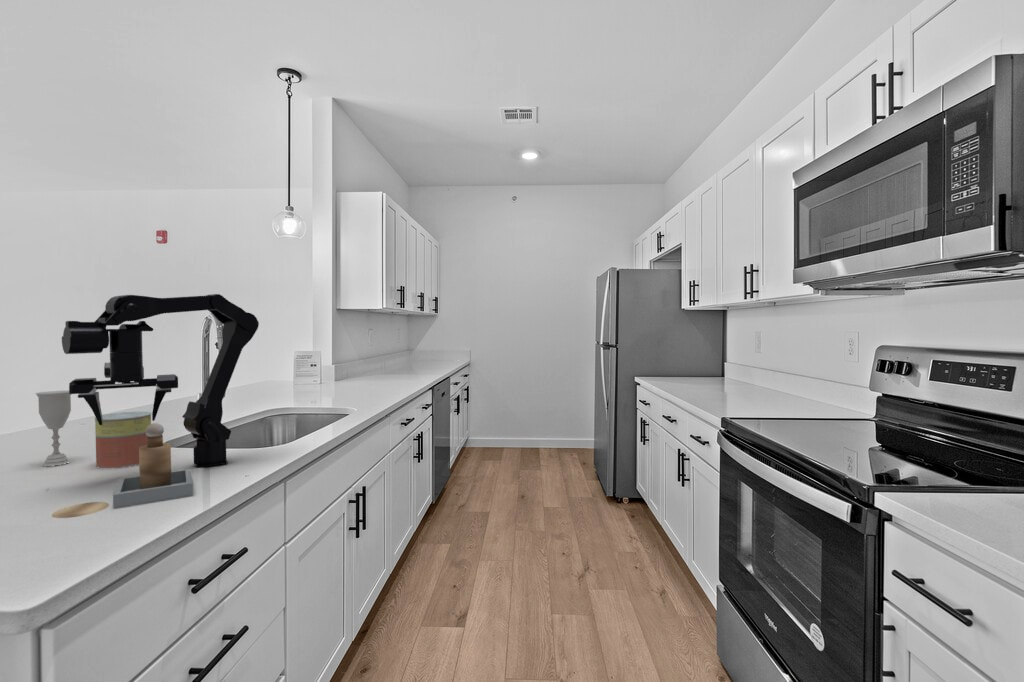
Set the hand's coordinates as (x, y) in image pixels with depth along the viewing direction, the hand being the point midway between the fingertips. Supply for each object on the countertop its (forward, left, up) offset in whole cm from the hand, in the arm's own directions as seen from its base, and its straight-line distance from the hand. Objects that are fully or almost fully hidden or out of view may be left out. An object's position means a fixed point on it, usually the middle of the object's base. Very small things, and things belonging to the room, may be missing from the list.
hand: (127, 422), depth 110 cm
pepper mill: (-5, +15, -12) cm, 20 cm away
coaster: (+6, +19, -13) cm, 24 cm away
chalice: (+16, -28, -13) cm, 35 cm away
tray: (-5, +16, -13) cm, 21 cm away
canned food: (+2, -20, -13) cm, 24 cm away
